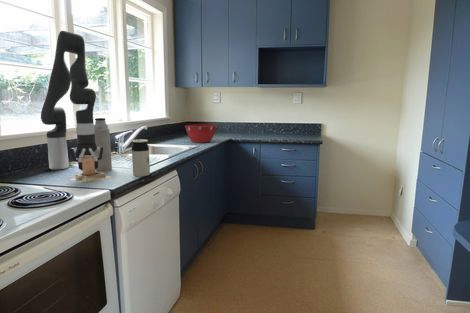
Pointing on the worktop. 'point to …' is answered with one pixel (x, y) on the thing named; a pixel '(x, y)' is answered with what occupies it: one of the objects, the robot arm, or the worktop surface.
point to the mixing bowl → (200, 132)
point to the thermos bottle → (103, 144)
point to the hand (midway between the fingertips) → (88, 169)
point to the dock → (90, 177)
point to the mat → (51, 189)
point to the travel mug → (140, 158)
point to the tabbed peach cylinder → (88, 165)
